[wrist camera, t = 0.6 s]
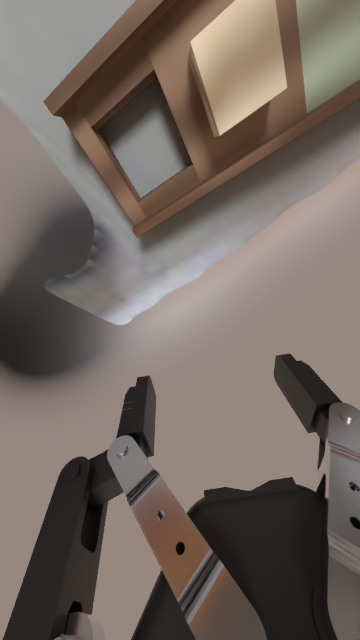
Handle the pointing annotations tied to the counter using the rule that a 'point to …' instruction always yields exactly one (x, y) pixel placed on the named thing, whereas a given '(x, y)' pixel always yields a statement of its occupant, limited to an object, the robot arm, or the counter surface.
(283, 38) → the walnut track
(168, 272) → the counter surface
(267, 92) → the maple block
